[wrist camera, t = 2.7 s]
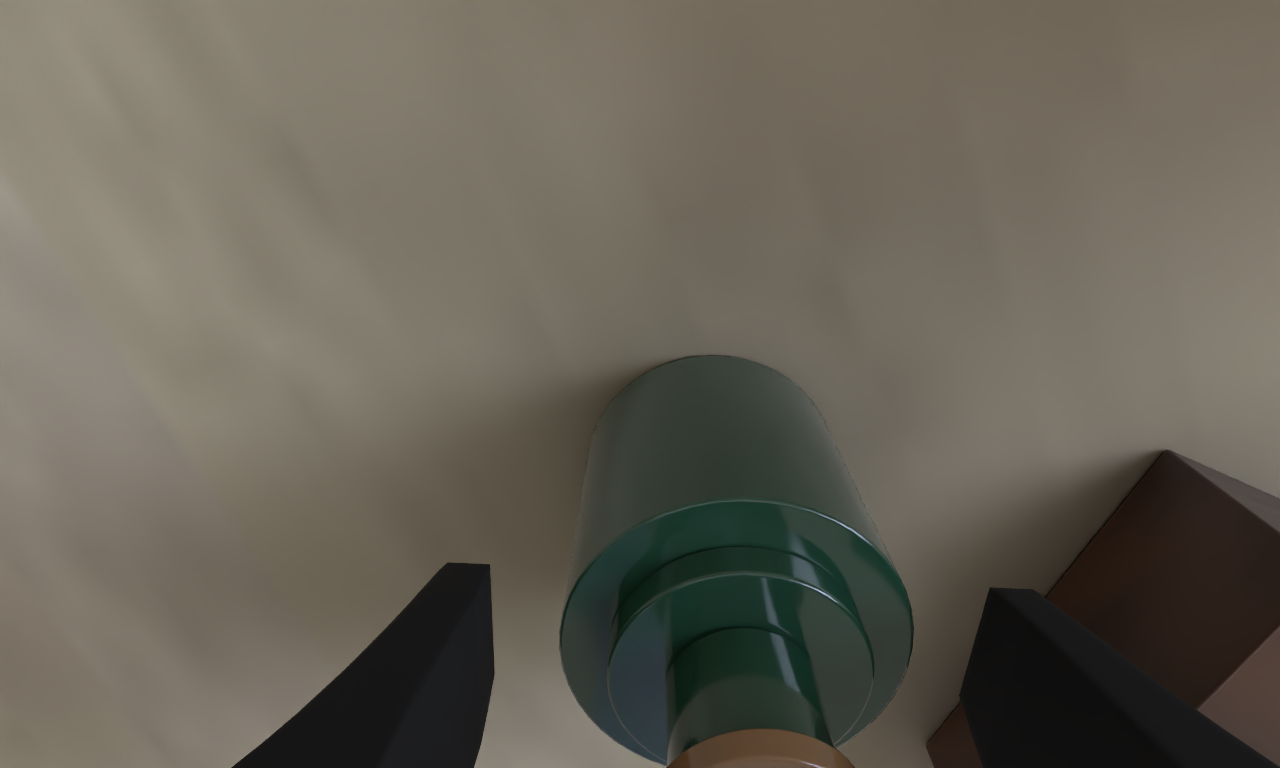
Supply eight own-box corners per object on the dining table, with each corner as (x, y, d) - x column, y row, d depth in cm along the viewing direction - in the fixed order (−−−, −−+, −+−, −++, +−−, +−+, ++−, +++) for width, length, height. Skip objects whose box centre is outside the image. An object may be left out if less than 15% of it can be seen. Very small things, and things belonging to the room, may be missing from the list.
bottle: (707, 607, 17) (751, 1032, 9) (537, 470, 15) (434, 841, 8) (882, 465, 15) (1097, 837, 8) (711, 302, 14) (778, 566, 7)
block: (1219, 850, 20) (1351, 1031, 16) (924, 745, 18) (992, 917, 15) (1502, 596, 16) (1749, 751, 13) (1165, 447, 15) (1332, 572, 11)
